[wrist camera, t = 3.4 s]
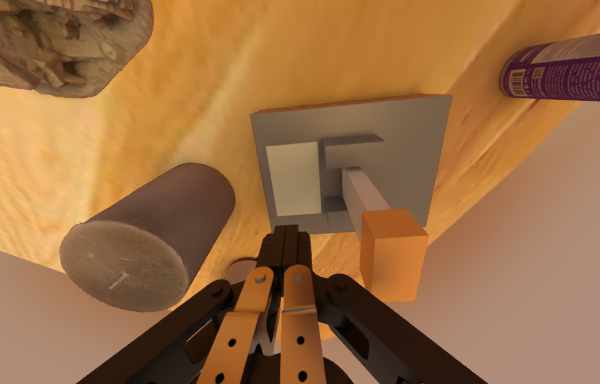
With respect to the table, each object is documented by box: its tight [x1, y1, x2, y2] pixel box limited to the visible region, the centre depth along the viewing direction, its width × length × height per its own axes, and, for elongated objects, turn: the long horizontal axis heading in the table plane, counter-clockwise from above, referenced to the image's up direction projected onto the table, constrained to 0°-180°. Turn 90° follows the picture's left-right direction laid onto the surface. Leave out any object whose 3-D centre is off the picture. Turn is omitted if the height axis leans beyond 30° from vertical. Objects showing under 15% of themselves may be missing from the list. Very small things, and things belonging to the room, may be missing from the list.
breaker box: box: [250, 94, 452, 235], centre depth 23 cm, size 14×18×8 cm
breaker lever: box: [342, 166, 429, 302], centre depth 16 cm, size 4×2×12 cm, turn 5°
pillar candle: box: [60, 163, 235, 312], centre depth 22 cm, size 10×10×15 cm
